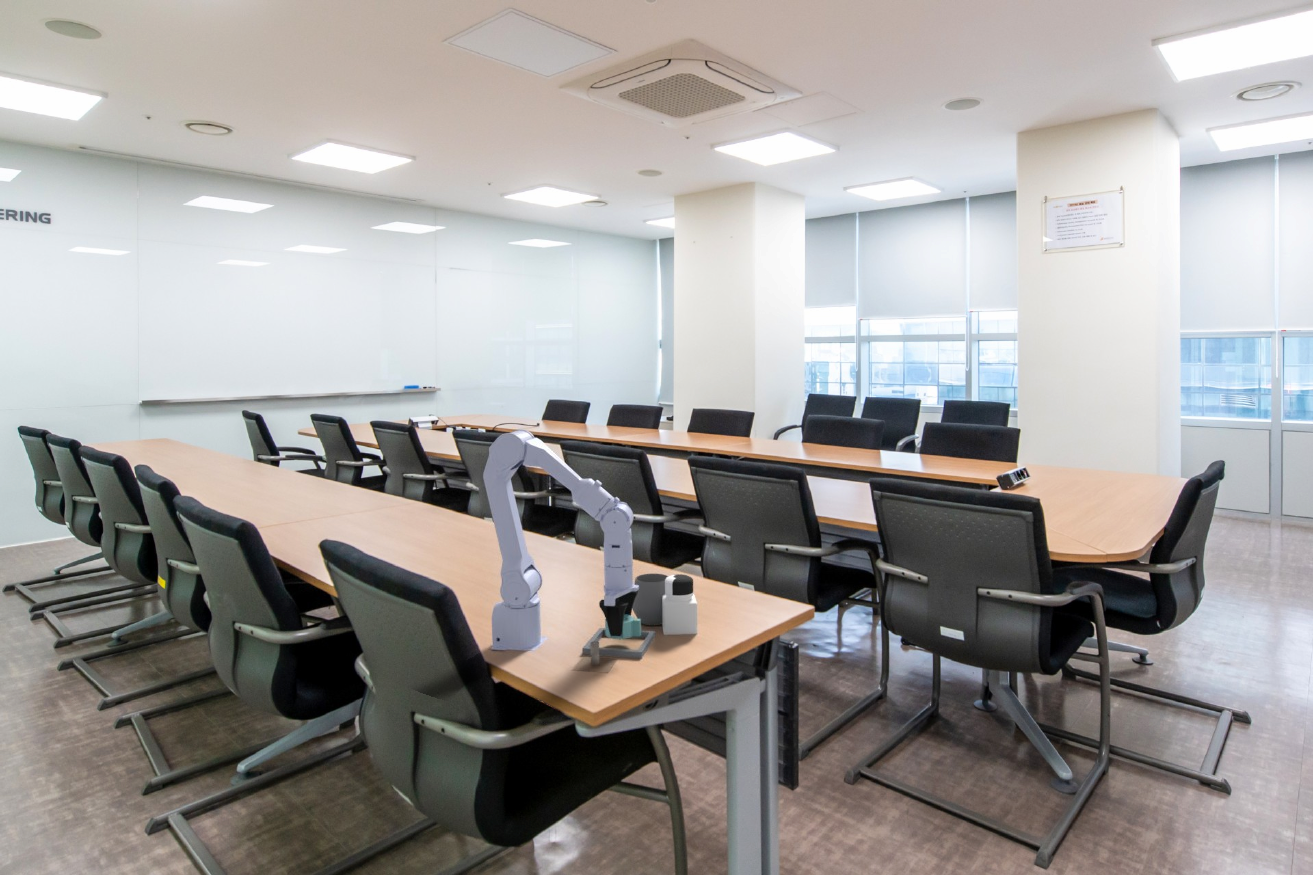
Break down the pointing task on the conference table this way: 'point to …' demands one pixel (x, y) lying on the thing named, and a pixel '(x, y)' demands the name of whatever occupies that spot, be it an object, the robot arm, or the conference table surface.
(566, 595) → the conference table surface
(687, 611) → the medicine bottle
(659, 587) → the cup
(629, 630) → the ring
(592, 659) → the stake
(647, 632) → the tray
